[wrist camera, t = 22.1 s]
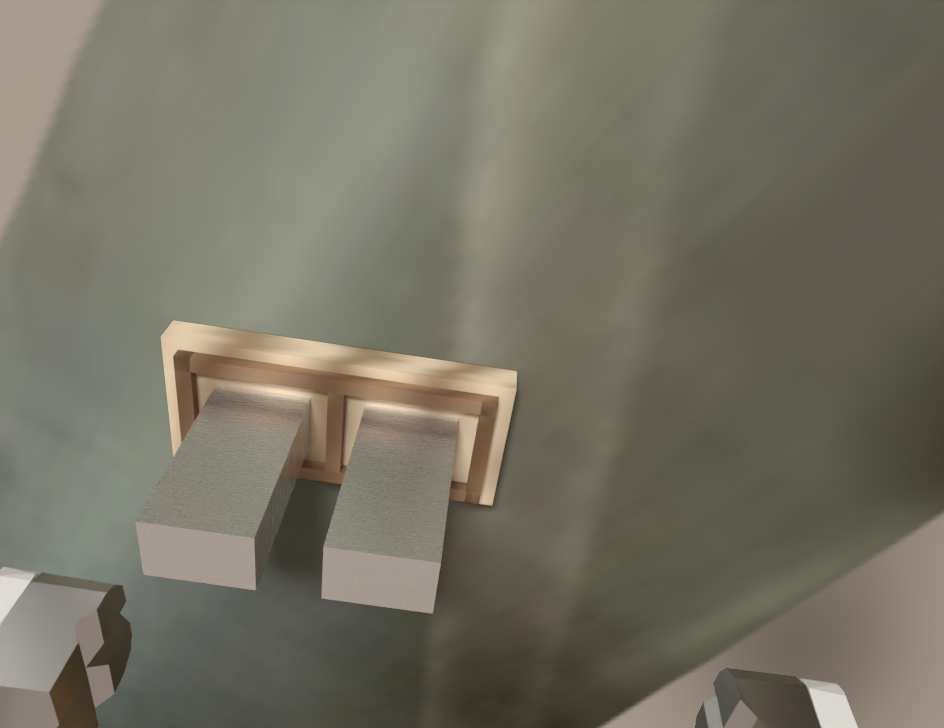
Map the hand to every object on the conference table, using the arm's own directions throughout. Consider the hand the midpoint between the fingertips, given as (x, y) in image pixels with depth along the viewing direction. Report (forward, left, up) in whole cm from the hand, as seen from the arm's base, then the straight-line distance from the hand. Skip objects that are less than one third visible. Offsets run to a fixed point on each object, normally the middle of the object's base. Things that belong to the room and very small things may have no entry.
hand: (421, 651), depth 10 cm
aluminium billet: (+2, +23, -32) cm, 40 cm away
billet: (+12, +23, -32) cm, 41 cm away
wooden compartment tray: (+7, +23, -34) cm, 42 cm away
